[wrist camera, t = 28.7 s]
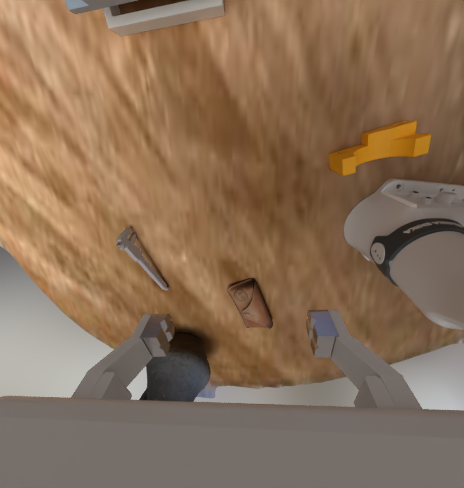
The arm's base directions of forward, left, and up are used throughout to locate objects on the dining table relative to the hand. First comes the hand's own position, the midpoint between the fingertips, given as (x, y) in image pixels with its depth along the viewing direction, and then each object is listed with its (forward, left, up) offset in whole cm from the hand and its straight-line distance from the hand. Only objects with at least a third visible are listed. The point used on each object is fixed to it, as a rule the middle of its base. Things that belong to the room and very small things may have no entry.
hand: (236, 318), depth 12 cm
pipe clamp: (-22, -4, -34) cm, 40 cm away
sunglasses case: (+3, +36, -34) cm, 49 cm away
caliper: (+26, +19, -34) cm, 47 cm away
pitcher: (+26, +55, -33) cm, 69 cm away
